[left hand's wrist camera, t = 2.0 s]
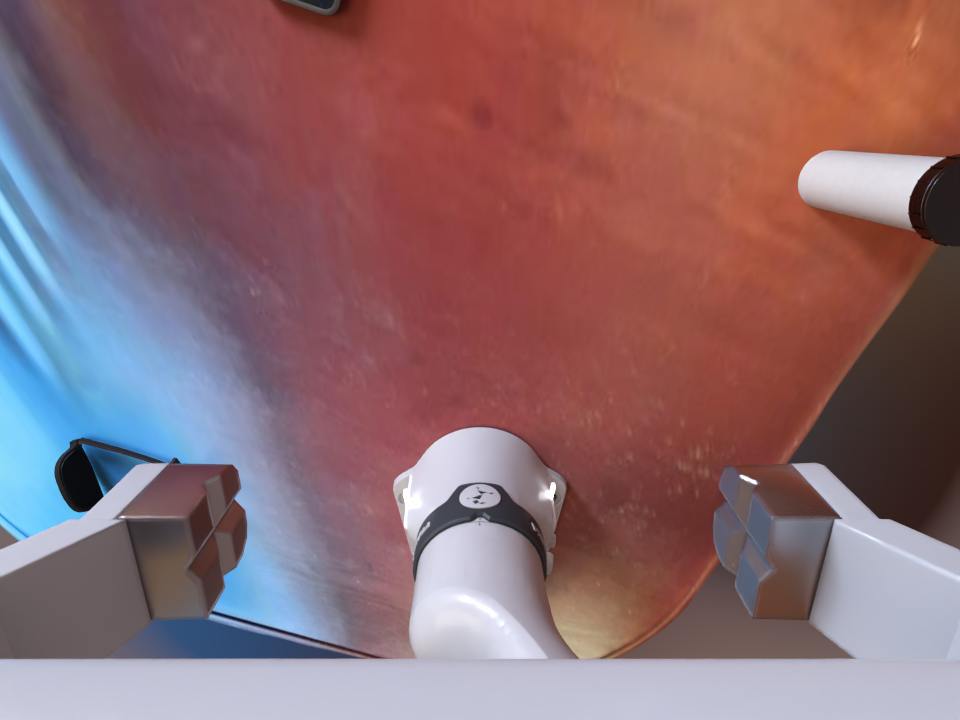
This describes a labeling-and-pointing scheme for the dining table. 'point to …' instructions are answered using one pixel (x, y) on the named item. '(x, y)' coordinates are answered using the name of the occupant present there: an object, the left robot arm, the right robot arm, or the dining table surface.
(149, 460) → the sunglasses
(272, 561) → the dining table surface
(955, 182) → the lid
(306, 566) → the dining table surface
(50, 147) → the dining table surface
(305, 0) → the smartphone
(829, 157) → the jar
